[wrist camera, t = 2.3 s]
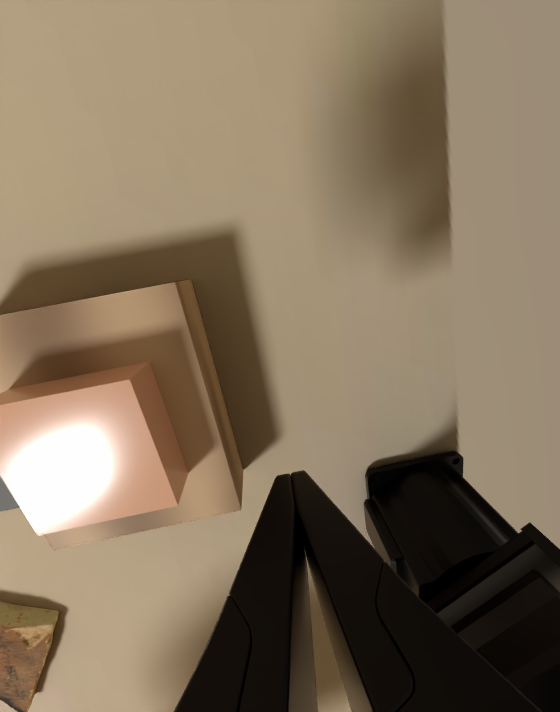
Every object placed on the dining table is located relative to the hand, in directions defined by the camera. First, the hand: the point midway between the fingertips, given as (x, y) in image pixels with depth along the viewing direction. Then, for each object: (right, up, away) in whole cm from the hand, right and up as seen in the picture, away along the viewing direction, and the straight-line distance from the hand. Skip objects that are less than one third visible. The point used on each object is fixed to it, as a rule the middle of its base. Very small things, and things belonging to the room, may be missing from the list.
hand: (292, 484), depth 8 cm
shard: (-19, -17, +13) cm, 29 cm away
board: (-9, +1, +8) cm, 12 cm away
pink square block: (-8, 0, +5) cm, 10 cm away
